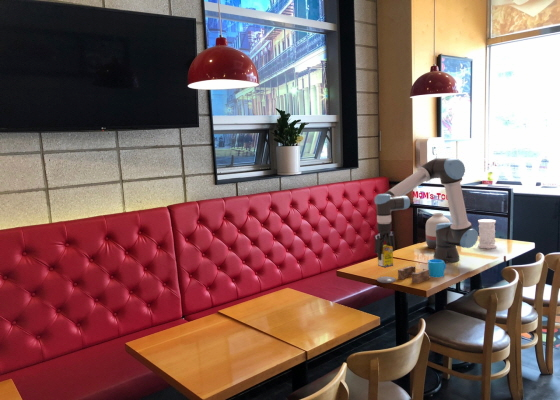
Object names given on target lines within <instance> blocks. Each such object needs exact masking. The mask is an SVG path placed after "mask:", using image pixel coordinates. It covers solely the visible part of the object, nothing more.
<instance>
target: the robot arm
mask: <svg viewBox="0 0 560 400" xmlns="http://www.w3.org/2000/svg"><path fill="white" fill-rule="evenodd" d="M465 167H466V166H465V165H464V163H463V161H462V160H460V159H459V158H454V157H448V158H447V157H446V158H444V157H443V158H439V157H438V158H434V159H431V160H429V161H427V162H426V163H424V164H423V165H420V166H419V167H418V168H417V171H415V172H414V173H412V174H411V175H409V176H407V177H406V178H405V179H404V180H402V181H401V182H399V183H397V184H396V185H394V186H393V187H392V188H390V189H388V190H387V191H385V192H384V193H378V194H376V195H375V197H374V204H375V205H376V222H377V223H376V229H377V231H378V233H377V234H376V235H374V236H373V237H374V253H375V254H377V261H378V260H379V265H380V266H379V267H381V266H384V265H383V254H382V251H383V245H388V246H392V247H393V253H394V252H395V250H396V245H395V244H396V243H395V241H396V240H395V231H391V230H392V212H393V211H399V210H402V211H403V210H407V209H408V208H409V207H410V206H411V200H410V198H409V196H408V195H407V194H409V193H410V192H411V191H413V190H414V189H416V188H417V187H419V186H420V185H421V184H423V183H425V182H426V183H427V182H429V181H430V180H433V179H439V180H440V183H441V185H442V186H444V190H445V194H446V201H447V204H448V209H449V210H448V211H449V213H450V219H451V221H450V222H449V223H440V224H437V225H436V249H434V250H435V251H434V253H433V259H439V260H443V261H444V262H445V263H456V262H459V261H460V254H459V251H458V248H457V247H461V248H465V249H470V248H473V247H474V246H475V245H476V244H477V241H478V240H479V234H478V233H479V232H478V231H477V230H476V229H475V228H473V226H472V222H470V221H469V219H468V216H467V210H466V206H465V205H466V204H465V200H464V195H463V190H462V185H461V182H462V181H463V177H464V176H465V173H466V168H465Z"/></svg>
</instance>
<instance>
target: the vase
mask: <svg viewBox="0 0 560 400" xmlns="http://www.w3.org/2000/svg"><path fill="white" fill-rule="evenodd" d="M449 222H451V220H450V219H449V218H448V217H446V216H445V215H444V213H441V212H435V213H433V214H432V216H431V217H428V219H427V220H426V223H425V243H426V246H427V247H428V248H429V249H433V250H436V225H437V224H440V223H449Z"/></svg>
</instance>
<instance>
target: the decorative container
mask: <svg viewBox="0 0 560 400" xmlns="http://www.w3.org/2000/svg"><path fill="white" fill-rule="evenodd" d="M477 223H478V229H479V230H478V233H479V234H478V242H479V243H477V247H478V248H479V247H480V249H485V248H487V249H488V250H490V249H491V248H492V249H496V248H498V247H497V244H496V234H495V233H496V230H495V229H496V225H495V224H496V223H497V220H495V219H487V218H483V219H478V220H477Z"/></svg>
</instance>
